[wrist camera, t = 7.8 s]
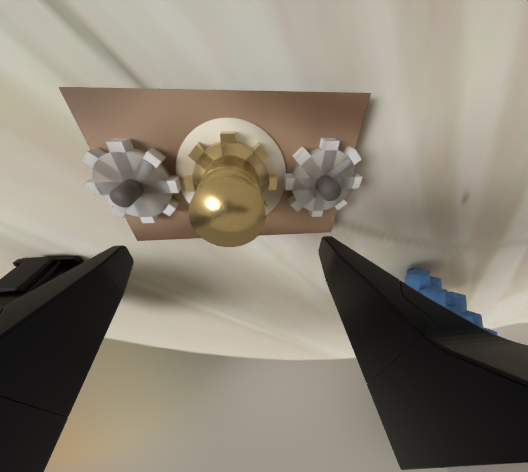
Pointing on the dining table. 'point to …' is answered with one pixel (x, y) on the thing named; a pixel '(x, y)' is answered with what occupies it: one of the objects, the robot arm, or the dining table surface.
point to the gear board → (207, 133)
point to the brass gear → (229, 191)
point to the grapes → (442, 295)
